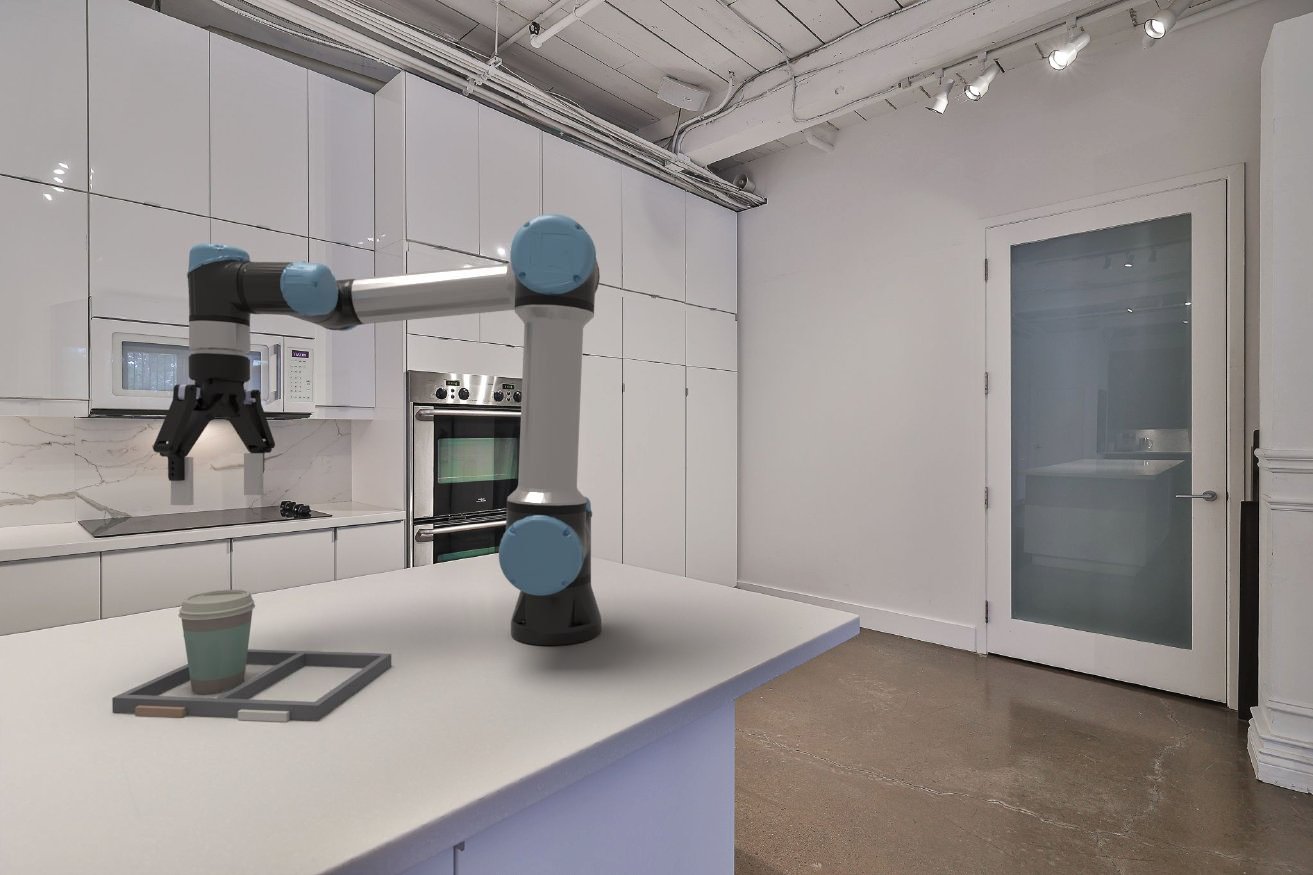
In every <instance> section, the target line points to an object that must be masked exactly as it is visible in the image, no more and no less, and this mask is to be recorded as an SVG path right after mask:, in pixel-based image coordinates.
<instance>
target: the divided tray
mask: <svg viewBox="0 0 1313 875" xmlns="http://www.w3.org/2000/svg"><path fill="white" fill-rule="evenodd" d="M249 664H250V665H265V666H266V665H268V666H269V665H271V666H272V667H270V668H269V669H266V670H265V671H263V672H261V673H259V674H257V675H256V676H254V677H252V678H250V679H248V680H246V681H245V682H243V683H242V684H241V685H239V686H237V687H235V688H233V689H231V690H228V691H225V692H224V693H223V694H221V695H219V696H217V697H202V696H201V697H198V696H197V697H195V696H174V695H173V696H172V695H171V696H170V695H169V696H168V695H161V694H162V693H164V692H166V691H168V690H172V689H173V688H175V687H177V686H178V685H181V684H183V683H186V682H187V681H189V680H190V674H189V667H188V663H186V664H184V665H182V666H179V667H177V668H175V669H173V670H171V671H168V672H167V673H164V674H161V675H160V676H157V677H155V678H153V679H151V680H148V681H146V682H144V683H142V684H140V685H137V686H135V687H134V688H133V687H132V688H131V689H128V690H126V691H124V692H122V693H120V694H117V695H115V696H113V697H112V698H111V700H112V701H111V702H112V708H111V710H112V713H115V714H116V713H118V714H134V716H135V717H158V718H177V719H178V718H179V719H181V718H185V717H189V716H190V717H191V716H192V717H216V718H218V717H219V718H237V720H238V721H255V722H257V721H258V722H277V723H278V722H280V723H287V722H289V721H309V722H310V721H314V722H318V721H320V720H321V719H322V718H324V717H325V716H326V715H328V714H329V713H330V712H332V711H333V710H334V709H336V708H337V707H339V706H340V705H341V704H343V703H344V702H345V701H347V700H348V699H350V698H351V697H352V696H353V695H355V694H356V693H357V692H359V691H360V690H362V689H363V688H365V686H367V685H368V684H369V683H371V682H372V681H374V680H375V679H376V678H377V677H379V676H380V675H381V674H383V673H384V672H386V671H387V670H388V669H390V668H391V667H392V653H385V652H384V653H381V652H380V653H376V652H352V651H351V652H348V651H346V652H345V651H318V650H317V651H316V650H291V649H290V650H284V649H283V650H282V649H258V648H257V649H254V648H248V652H247V661H246V665H249ZM304 667H329V668H331V667H333V668H334V667H335V668H360V670H358V671H356V673H354V674H352V675H351V676H350V677H349V678H347V679H346V680H344V681H343V682H341V683H339V685H337V686H336V687H334V688H332V689H331V690H329V691H328V692H326V693H325V694H324V695H322V696H321V697H320V698H318V699H317V700H315V701H307V700H306V701H301V700H277V699H276V700H275V699H274V700H273V699H253V698H252V697H254V696H256V695H258V694H259V693H261V692H262V691H263V692H264V691H265V690H266V689H268V688H269V687H271V686H273V685H276V684H277V683H278V682H279V681H281V680H284V679H285V678H287V677H288V676H290V675H292V674H294V673H295V672H297V671H298V670H300V669H302V668H304ZM251 698H252V699H251Z"/></svg>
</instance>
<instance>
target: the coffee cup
mask: <svg viewBox="0 0 1313 875" xmlns="http://www.w3.org/2000/svg"><path fill="white" fill-rule="evenodd" d="M255 607H256V605H255V600H254V599H253V597H252V594H251V592H250V591H248V590H244V589H223V590H222V589H221V590H213V591H212V590H210V591H207V592H201V593H196V594H193V595H190V596H188V597H185V598H184V599H183V601H182V604H181V608H180V609H179V611H178V612H179V614H178V618H180V619H181V624H182V631H183V632H182V633H183V637H184V638H183V639H184V640H183V641H184V645H185V653H186V660H187V664H188V667H189V674H190V679H189V680H190V686H191V691H192V693H194V694H198V695H209V694H210V695H211V694H218V693H223V692H224V693H225V692H228V691H230V690H232V689H233V688H235V687H237V686H239V685H241V684H243V683H244V681H245V674H246V667H247V664H246V661H247V652H248V649H249V644H250V635H251V634H250V633H251V626H252V620H253V619H252V617H253V609H255Z"/></svg>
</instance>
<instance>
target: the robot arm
mask: <svg viewBox="0 0 1313 875" xmlns="http://www.w3.org/2000/svg"><path fill="white" fill-rule="evenodd" d="M510 245H511V246H510V252H509V254H510V257H509V259H510V261H509V262H508V263H502V264H501V263H500V264H499V263H498V264H489V265H480V266H471V267H461V268H460V267H459V268H449V269H439V270H437V269H436V270H429V271H419V272H409V273H398V274H397V273H396V274H390V275H388V274H386V275H379V276H378V275H376V276H375V275H374V276H368V277H357V278H349V279H348V278H347V279H337V280H336V276H335V274H333V273H332V271H331V269H330V267H328V266H327V265H325V264H323V263H316V262H307V261H305V260H300V261H299V260H298V261H279V262H278V261H251V258H250V254H249V253H248V252H247V251H246V250H244V249H242V248H240V247H236V246H232V245H227V244H226V245H225V244H217V243H199V244H196V245H194V246H192V247H191V248H190V250H189V254H188V255H189V256H188V257H189V259H188V269H187V270H188V271H187V273H186V278H187V283H188V284H187V286H188V308H189V309H188V349H189V351H192V352H193V353H191V354H189V356H188V378H189V379H190V380H191V381H194V384H174V386H173V390H172V391H173V392H172V401H171V403H170V406H169V408H168V410H167V413H166V415H165V418H164V420H163V423H162V424H161V427H160V429H159V431H158V433H157V436H156V439H155V441H154V443H153V446H152V449H153V452H154V453H159V456H161V457H165V458H166V457H167V478H168V481H169V482H170V506H193V505H194V504H195V503H194V456H188V455H189V453H190V452H191V450H192V449H193V448H194V445H196V442H198V440H199V438H200V437H201V436H202V433H203V432H204V431H205V430H206V428H207V426H208V424H209V423H210V422H211V421H213V420H215V419H224V420H226V421H228V422H229V423H230V424H231V426H232V428H233V429H234V431H235V432H236V434H237V436H238V437H239V438H240V440H241V442H242V443H243V445H244V446H245V448H246V449H247V452H246V453H243V496H263V495H264V472H265V453H266V454H268V453H271V452H272V451H273V449H274V448H275V446H276V443H275V440H274V437H273V433H272V431H271V429H270V424H269V423H268V420H267V419H268V418H267V416H266V413H265V411H264V409H263V408H264V407H263V405H262V397H261V396H262V395H261V391H260V390H259V389H245V387H244V386H245V383H248V382H249V381H250V380H251V359H249V357H247V356H246V355H247V354H249V353H251V315H277V316H278V315H280V316H290V317H293V318H296V319H299V320H301V321H305V322H308V323H312V324H315V325H318V326H321V327H322V328H324V329H327V330H329V331H338V332H339V331H341V332H344V331H350V330H353V329H354V328H356V327H357V326H361V325H368V324H378V323H379V324H380V323H388V322H389V323H391V322H392V323H393V322H402V321H412V320H422V319H423V320H424V319H431V318H432V319H435V318H442V317H454V316H462V315H464V316H465V315H474V314H485V313H494V312H495V313H496V312H505V311H507V312H508V311H514V313H515V314H516V315H517V317H518V318H520V320H521V321H522V323H523V324H524V328H523V329H524V330H523V333H524V334H523V352H522V354H523V356H522V357H523V358H522V381H521V382H522V384H521V403H520V404H521V406H520V407H521V408H520V410H521V411H520V430H519V431H520V432H519V433H520V434H519V460H518V481H517V482H518V484H517V487H516V489H515V490H513V491H512V493H510V494H509V495H508V496H507V499H506V518H505V519H506V520H505V532H504V533H503V535H502V537H501V539H500V543H499V547H498V548H499V549H498V561H499V562H498V564H499V566H500V570H501V571H502V574H503V575H504V577H505V579H506V580H507V581H508V582H509V583H510V585H512V586H513V587H515V588H516V589H518V590H519V595H518V597H517V600H516V604H515V606H514V611H513V613H512V617H511V619H510V620H511V621H510V635H511V637H512V638H513V639H514V640H516V641H518V642H522V643H525V644H529V645H536V646H537V645H538V646H562V645H569V644H577V643H581V642H586V641H588V640H592V639H594V638H595V637H597V636H599V634H601V632H602V616H601V613H600V612H601V611H600V609H599V607H598V603H597V600H596V597H595V596H596V595H595V593H594V591H593V587H592V517H593V511H592V507H591V506H592V504H591V503H592V502H591V501H590V499H589V498H588V497H586V496H584V495H583V494H582V493H581V492H580V491H579V488H578V466H579V465H578V464H579V463H578V462H579V444H580V443H579V442H580V441H579V439H580V438H579V437H580V420H581V418H580V417H581V414H580V413H581V390H582V389H581V388H582V370H583V369H582V368H583V367H582V364H583V362H582V361H583V344H584V343H583V342H584V341H583V337H584V328H585V326H586V325H587V324H588V323H589V322H590V321H591V320H593V318H594V316H595V301H596V298H595V297H596V292H597V290H598V288H599V284H600V275H601V274H600V267H599V264H598V260H597V252H596V246H595V244H594V241H593V239H592V237H591V235H590V234H589V233H588V232H587V230H586V229H585V228H584V226H582V225H581V224H580V223H579V222H577V220H574V219H573V218H571V217H569V216H566V215H562V214H556V213H547V214H541V215H539V216H535V217H533V218H531V219H529V220H528V221H527V222H525V223H524V224H523V225H522V226H521V227H520V228H519V229H518V230H517V232H516V233H515V235H514V236H513V240H512V242H511V244H510Z"/></svg>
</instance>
